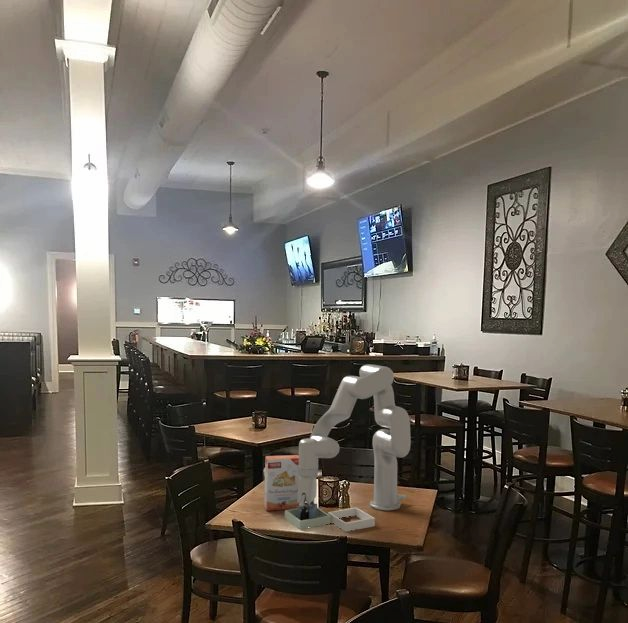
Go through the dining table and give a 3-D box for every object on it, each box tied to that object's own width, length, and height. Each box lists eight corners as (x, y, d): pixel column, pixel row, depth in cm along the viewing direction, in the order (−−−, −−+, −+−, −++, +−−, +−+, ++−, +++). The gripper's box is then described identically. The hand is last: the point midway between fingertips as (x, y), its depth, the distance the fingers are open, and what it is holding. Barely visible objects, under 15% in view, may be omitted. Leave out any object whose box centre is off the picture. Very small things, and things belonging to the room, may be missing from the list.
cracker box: (266, 511, 221) (267, 459, 221) (263, 506, 227) (264, 455, 227) (300, 509, 225) (301, 457, 225) (296, 504, 230) (297, 454, 231)
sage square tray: (314, 513, 220) (314, 505, 220) (330, 524, 209) (330, 516, 209) (284, 518, 214) (284, 510, 214) (299, 529, 203) (300, 521, 203)
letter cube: (302, 517, 215) (302, 501, 215) (317, 519, 213) (317, 503, 214) (297, 522, 209) (297, 506, 210) (312, 524, 208) (312, 508, 208)
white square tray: (356, 515, 219) (356, 507, 219) (374, 526, 208) (374, 518, 208) (327, 520, 213) (327, 512, 213) (345, 531, 201) (345, 523, 201)
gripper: (305, 465, 221) (304, 510, 221) (291, 476, 205) (290, 525, 204) (323, 467, 219) (322, 512, 219) (311, 478, 202) (310, 528, 202)
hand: (307, 518), depth 211 cm, fingers closed on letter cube, 6 cm apart
